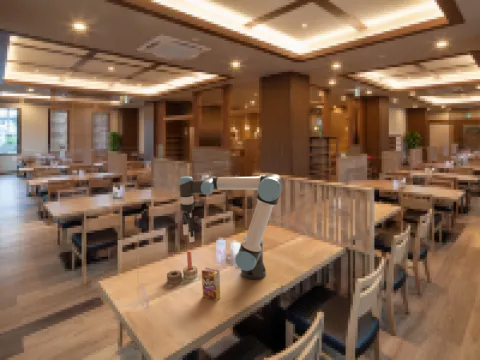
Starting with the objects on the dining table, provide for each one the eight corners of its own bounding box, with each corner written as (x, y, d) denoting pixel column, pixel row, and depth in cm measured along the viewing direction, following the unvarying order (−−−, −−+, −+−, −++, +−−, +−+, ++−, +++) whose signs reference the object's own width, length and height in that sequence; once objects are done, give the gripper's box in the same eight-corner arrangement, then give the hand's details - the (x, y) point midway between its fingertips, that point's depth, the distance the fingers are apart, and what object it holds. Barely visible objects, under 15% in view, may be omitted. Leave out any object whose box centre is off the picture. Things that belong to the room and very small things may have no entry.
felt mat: (195, 272, 183) (195, 272, 183) (199, 280, 174) (199, 279, 174) (165, 279, 175) (165, 278, 175) (169, 287, 166) (169, 286, 166)
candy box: (202, 297, 156) (201, 270, 153) (206, 293, 159) (205, 266, 157) (216, 301, 151) (215, 273, 149) (220, 297, 155) (219, 270, 152)
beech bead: (195, 272, 183) (194, 264, 182) (198, 277, 175) (198, 270, 175) (182, 275, 179) (182, 267, 179) (185, 280, 172) (185, 272, 171)
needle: (191, 275, 179) (190, 250, 177) (193, 276, 177) (191, 251, 174) (187, 276, 178) (186, 251, 175) (188, 277, 176) (187, 252, 173)
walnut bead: (179, 277, 177) (179, 269, 176) (183, 283, 170) (182, 275, 169) (166, 280, 173) (165, 272, 173) (169, 286, 166) (168, 278, 165)
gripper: (175, 199, 180) (177, 232, 183) (186, 208, 157) (188, 246, 161) (187, 198, 183) (189, 231, 186) (199, 207, 160) (201, 244, 164)
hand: (188, 238), depth 173 cm, fingers open, 13 cm apart
